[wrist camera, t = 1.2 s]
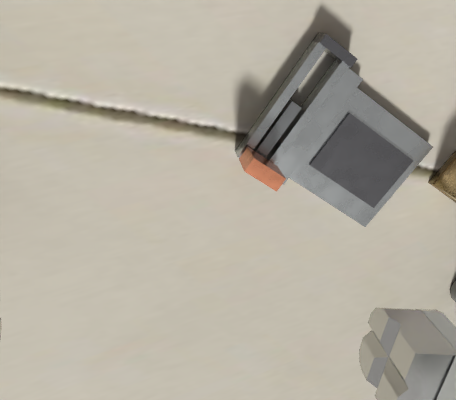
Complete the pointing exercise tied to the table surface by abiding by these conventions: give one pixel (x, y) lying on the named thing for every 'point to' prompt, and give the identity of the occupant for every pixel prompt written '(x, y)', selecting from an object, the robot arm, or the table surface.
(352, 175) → the gray slotted base plate
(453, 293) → the flask
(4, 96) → the table surface
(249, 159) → the lever
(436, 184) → the tan wooden block
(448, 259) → the table surface
